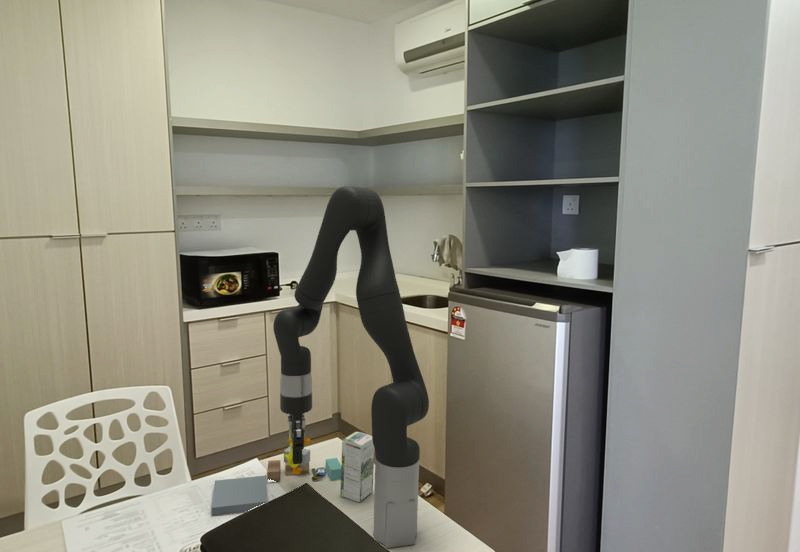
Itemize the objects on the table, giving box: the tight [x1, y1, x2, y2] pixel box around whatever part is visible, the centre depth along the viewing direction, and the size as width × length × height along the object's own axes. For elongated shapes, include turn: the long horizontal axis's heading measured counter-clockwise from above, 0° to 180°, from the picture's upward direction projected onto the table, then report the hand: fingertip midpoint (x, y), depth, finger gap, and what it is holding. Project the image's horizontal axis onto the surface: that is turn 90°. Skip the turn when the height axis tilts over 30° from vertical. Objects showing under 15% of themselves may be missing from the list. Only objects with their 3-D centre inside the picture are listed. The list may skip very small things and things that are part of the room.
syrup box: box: [339, 431, 375, 503], centre depth 128 cm, size 6×6×14 cm
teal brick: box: [325, 457, 341, 482], centre depth 139 cm, size 6×3×3 cm, turn 21°
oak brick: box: [284, 462, 310, 477], centre depth 139 cm, size 6×3×3 cm, turn 103°
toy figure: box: [283, 428, 311, 475], centre depth 129 cm, size 7×4×12 cm, turn 81°
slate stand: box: [211, 474, 268, 517], centre depth 126 cm, size 12×12×2 cm
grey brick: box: [283, 445, 311, 466], centre depth 139 cm, size 6×3×3 cm, turn 72°
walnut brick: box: [266, 459, 281, 483], centre depth 137 cm, size 6×3×3 cm, turn 10°
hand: (296, 458), depth 130 cm, fingers closed on toy figure, 3 cm apart
